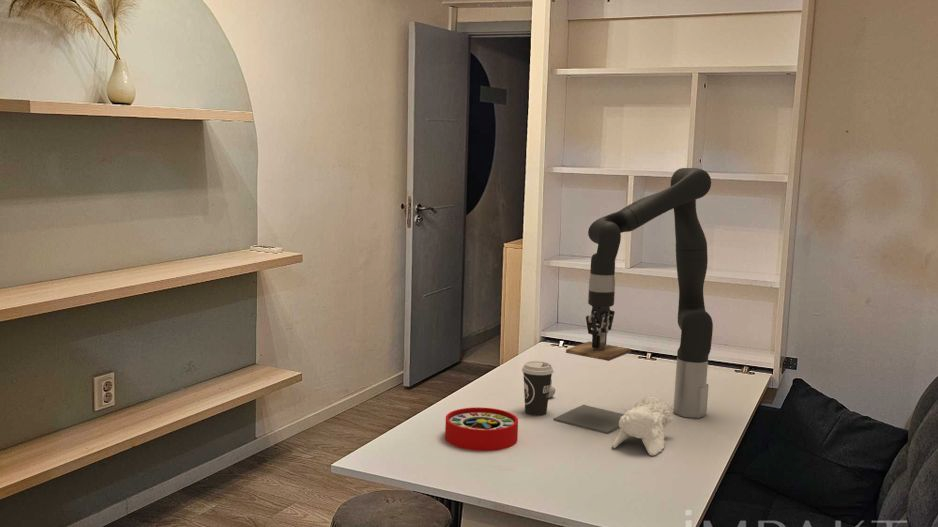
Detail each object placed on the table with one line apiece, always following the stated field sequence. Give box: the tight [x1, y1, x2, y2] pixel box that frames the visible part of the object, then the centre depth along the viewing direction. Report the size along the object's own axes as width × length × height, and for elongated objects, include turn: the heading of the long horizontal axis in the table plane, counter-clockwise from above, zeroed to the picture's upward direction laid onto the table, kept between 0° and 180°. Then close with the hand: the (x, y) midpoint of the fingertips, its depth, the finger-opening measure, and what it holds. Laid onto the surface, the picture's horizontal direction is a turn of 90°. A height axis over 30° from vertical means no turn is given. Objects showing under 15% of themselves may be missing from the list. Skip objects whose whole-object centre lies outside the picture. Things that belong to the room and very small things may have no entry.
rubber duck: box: [548, 379, 556, 399], centre depth 280 cm, size 5×7×8 cm
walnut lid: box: [565, 331, 632, 362], centre depth 256 cm, size 14×14×6 cm
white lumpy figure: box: [611, 396, 674, 457], centre depth 239 cm, size 13×12×20 cm
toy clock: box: [444, 406, 519, 452], centre depth 239 cm, size 20×6×20 cm
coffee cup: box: [521, 360, 554, 417], centre depth 263 cm, size 10×10×15 cm
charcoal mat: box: [552, 404, 625, 435], centre depth 259 cm, size 18×18×1 cm
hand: (599, 346), depth 256 cm, fingers closed on walnut lid, 3 cm apart
